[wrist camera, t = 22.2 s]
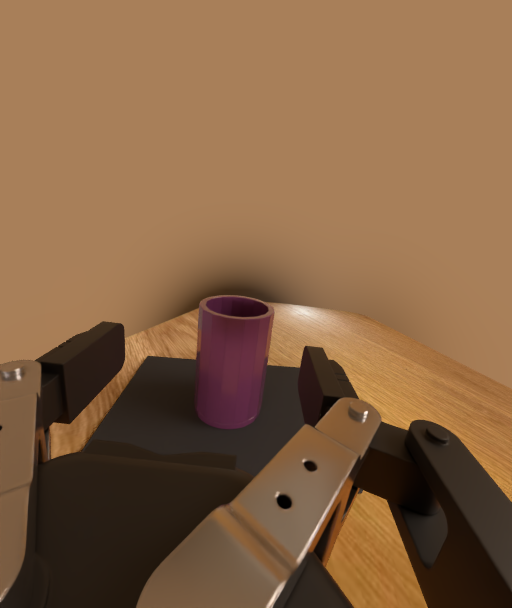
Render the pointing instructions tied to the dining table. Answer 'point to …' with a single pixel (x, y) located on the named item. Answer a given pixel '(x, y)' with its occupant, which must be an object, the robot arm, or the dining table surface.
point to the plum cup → (231, 359)
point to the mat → (188, 426)
